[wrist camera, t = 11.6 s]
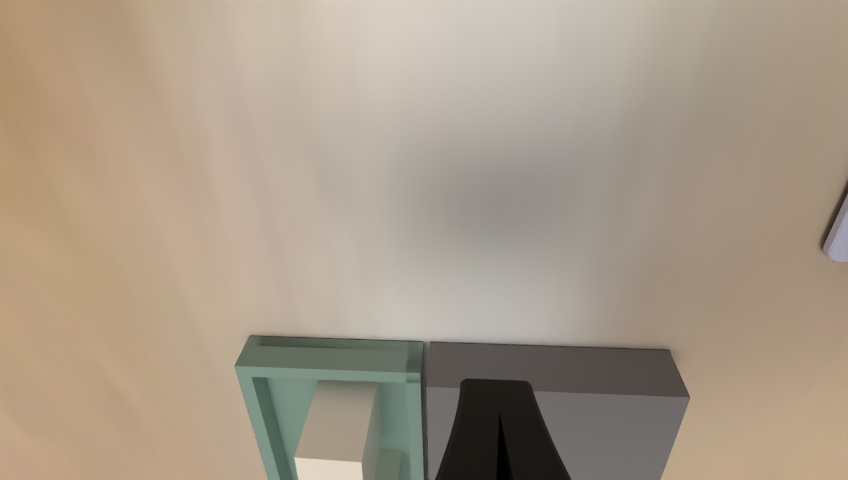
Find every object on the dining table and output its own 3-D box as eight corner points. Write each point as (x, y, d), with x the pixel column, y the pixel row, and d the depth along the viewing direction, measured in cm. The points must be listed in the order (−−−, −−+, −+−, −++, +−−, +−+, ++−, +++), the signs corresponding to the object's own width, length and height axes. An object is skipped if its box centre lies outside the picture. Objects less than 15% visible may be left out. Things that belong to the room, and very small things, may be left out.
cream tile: (361, 462, 19) (294, 457, 19) (366, 529, 22) (306, 524, 22) (379, 370, 23) (322, 367, 23) (381, 436, 25) (330, 433, 26)
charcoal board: (669, 350, 22) (690, 397, 20) (613, 528, 29) (624, 576, 27) (430, 342, 23) (426, 386, 21) (433, 517, 30) (430, 564, 28)
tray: (423, 341, 23) (420, 373, 21) (428, 517, 30) (426, 550, 28) (249, 335, 23) (234, 366, 22) (295, 510, 31) (286, 541, 29)
